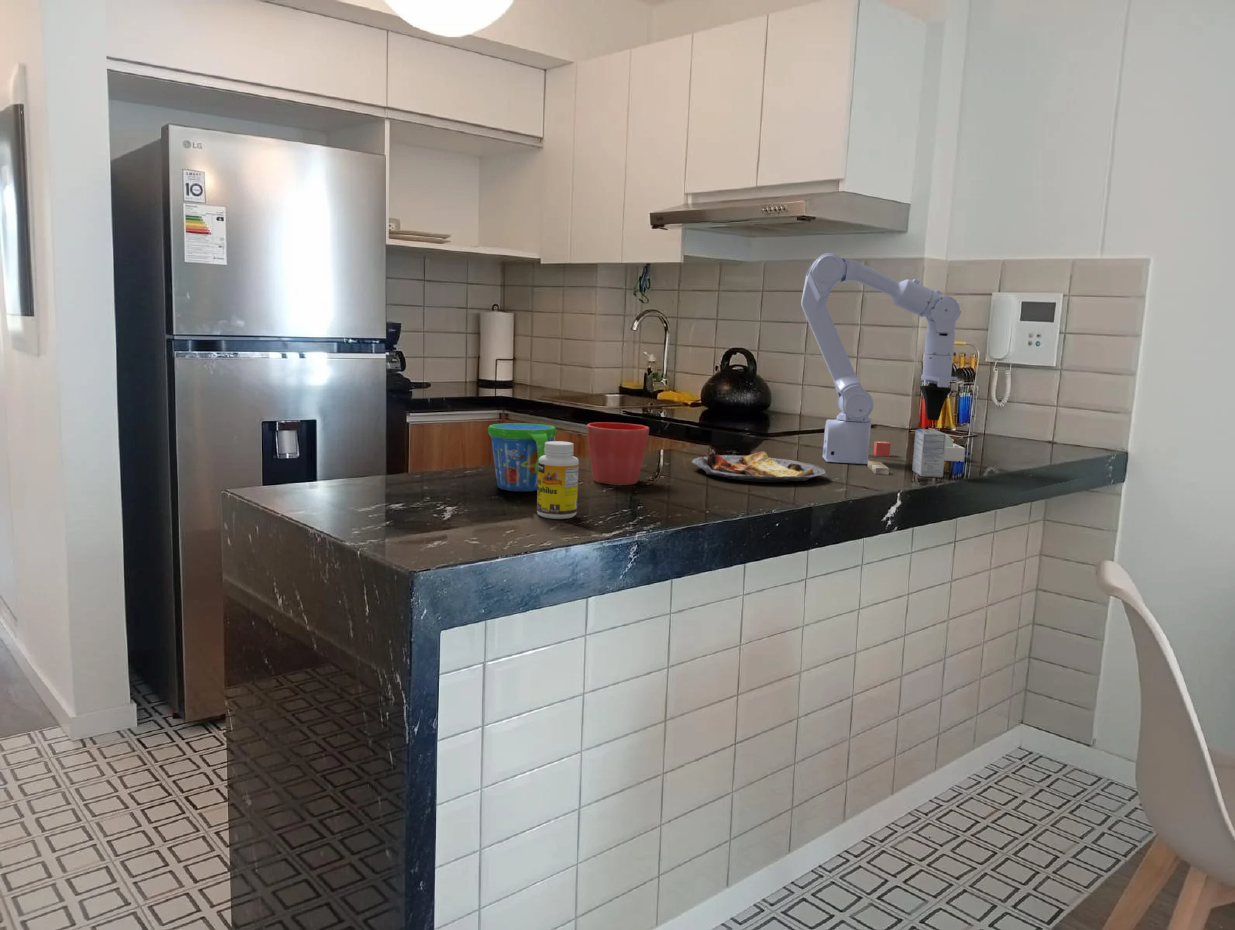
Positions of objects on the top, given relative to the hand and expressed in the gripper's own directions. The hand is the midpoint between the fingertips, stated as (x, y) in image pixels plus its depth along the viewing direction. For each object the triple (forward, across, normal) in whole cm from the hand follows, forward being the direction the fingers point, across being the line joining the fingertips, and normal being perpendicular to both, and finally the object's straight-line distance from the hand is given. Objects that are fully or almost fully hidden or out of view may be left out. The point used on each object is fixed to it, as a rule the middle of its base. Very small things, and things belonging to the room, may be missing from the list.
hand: (932, 420), depth 194 cm
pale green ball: (+10, +15, -6) cm, 19 cm away
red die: (+10, +14, +8) cm, 19 cm away
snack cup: (+10, -57, +75) cm, 95 cm away
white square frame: (+10, +15, -6) cm, 19 cm away
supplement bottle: (+10, -76, +66) cm, 101 cm away
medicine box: (+10, -12, +3) cm, 16 cm away
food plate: (+10, -26, +37) cm, 46 cm away
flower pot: (+10, -44, +61) cm, 76 cm away
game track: (+10, -12, +12) cm, 19 cm away
